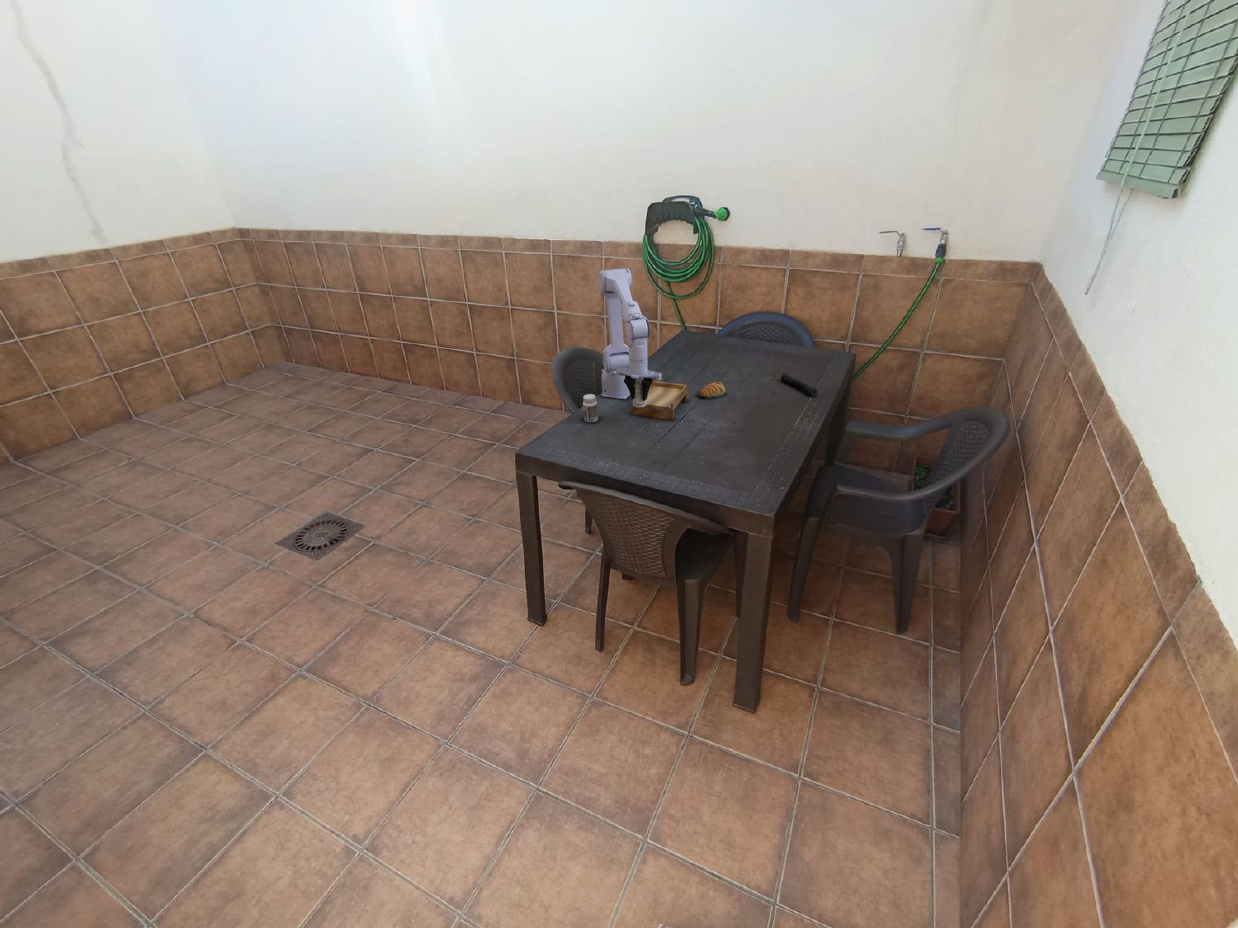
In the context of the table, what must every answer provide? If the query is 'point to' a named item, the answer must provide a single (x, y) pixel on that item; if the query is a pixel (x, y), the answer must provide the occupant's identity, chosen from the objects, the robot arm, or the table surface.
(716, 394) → the pastry
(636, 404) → the rook chess piece
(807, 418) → the table surface
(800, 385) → the flashlight
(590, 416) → the pill bottle
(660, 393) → the wooden tray
